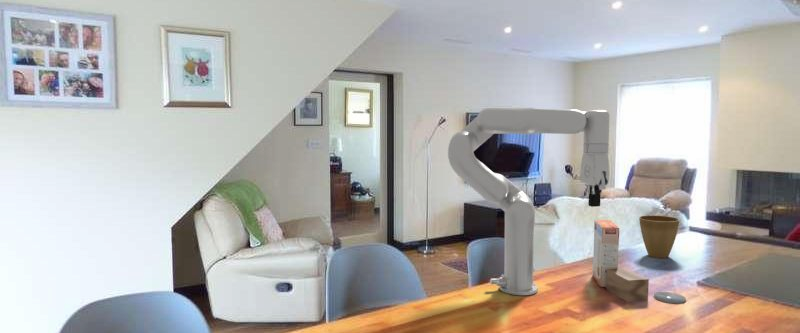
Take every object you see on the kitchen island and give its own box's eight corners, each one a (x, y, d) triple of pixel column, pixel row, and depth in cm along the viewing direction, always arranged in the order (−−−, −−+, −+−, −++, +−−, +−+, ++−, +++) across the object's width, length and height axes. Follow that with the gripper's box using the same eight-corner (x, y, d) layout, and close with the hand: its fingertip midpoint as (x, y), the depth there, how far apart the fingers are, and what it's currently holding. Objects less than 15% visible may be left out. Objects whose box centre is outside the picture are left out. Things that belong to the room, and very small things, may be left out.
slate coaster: (665, 304, 157) (666, 302, 157) (647, 294, 166) (647, 292, 166) (692, 302, 158) (692, 300, 158) (672, 292, 167) (672, 291, 167)
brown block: (627, 302, 159) (628, 280, 159) (606, 289, 171) (606, 269, 170) (647, 300, 160) (648, 279, 160) (625, 288, 172) (626, 268, 172)
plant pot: (679, 254, 215) (680, 216, 213) (676, 262, 202) (678, 222, 201) (640, 249, 223) (641, 213, 221) (635, 257, 210) (636, 219, 209)
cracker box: (618, 288, 172) (620, 227, 170) (599, 287, 173) (601, 227, 171) (609, 276, 185) (611, 219, 183) (592, 275, 186) (593, 219, 185)
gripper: (573, 148, 169) (572, 202, 171) (597, 150, 154) (595, 210, 156) (594, 147, 170) (593, 202, 172) (620, 150, 155) (618, 209, 157)
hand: (594, 205), depth 164 cm, fingers closed
